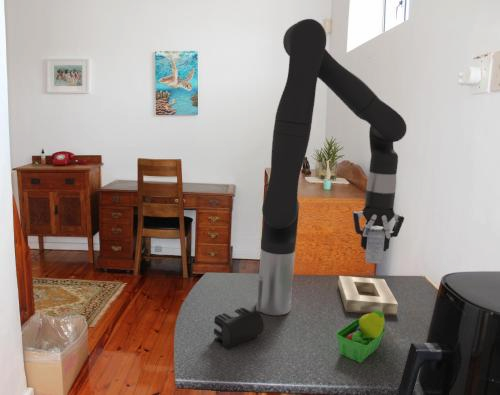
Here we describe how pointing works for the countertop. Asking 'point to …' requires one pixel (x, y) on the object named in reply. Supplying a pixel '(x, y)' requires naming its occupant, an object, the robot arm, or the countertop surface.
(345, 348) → the fruit basket
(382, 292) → the thick beige rectangular frame
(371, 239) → the medicine box
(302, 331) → the countertop surface
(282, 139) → the robot arm
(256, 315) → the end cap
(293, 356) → the countertop surface
